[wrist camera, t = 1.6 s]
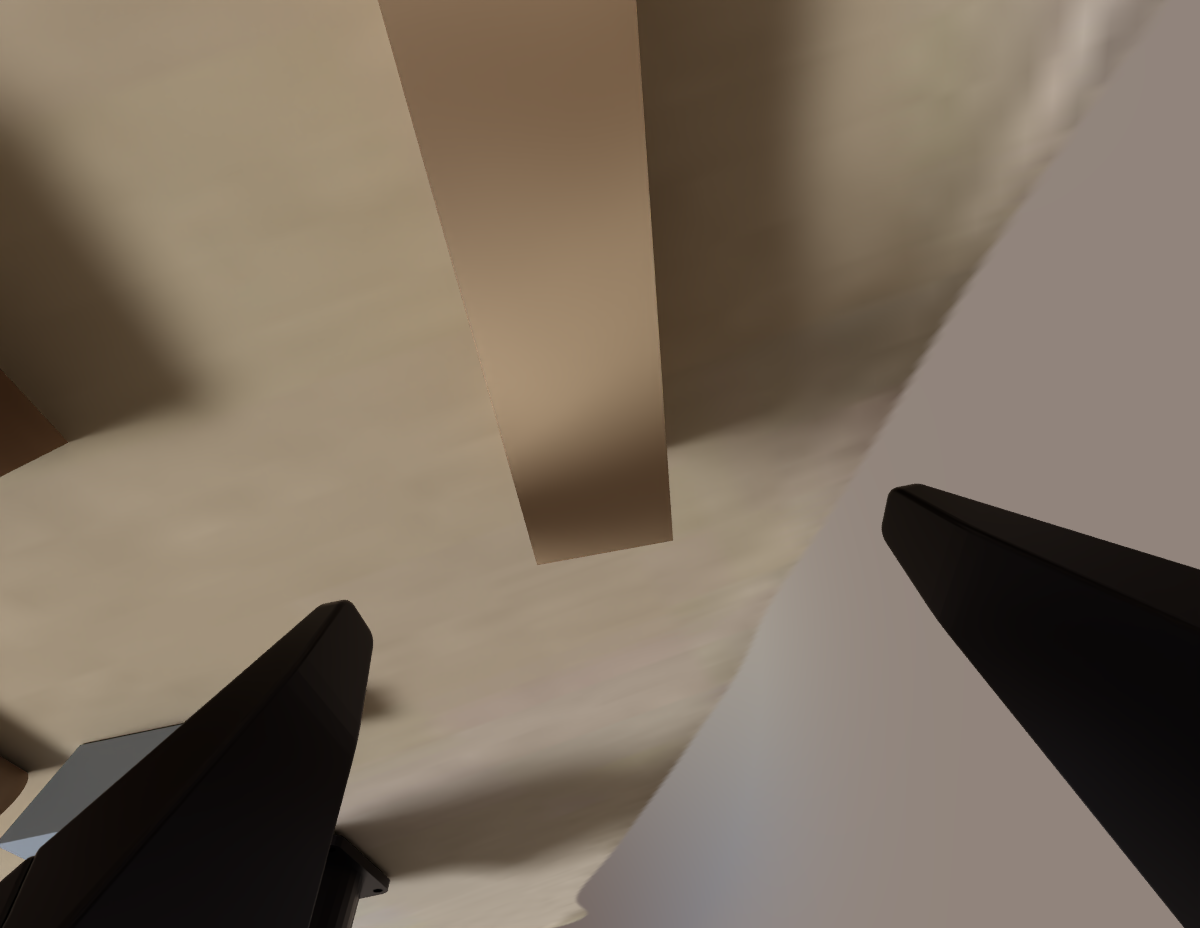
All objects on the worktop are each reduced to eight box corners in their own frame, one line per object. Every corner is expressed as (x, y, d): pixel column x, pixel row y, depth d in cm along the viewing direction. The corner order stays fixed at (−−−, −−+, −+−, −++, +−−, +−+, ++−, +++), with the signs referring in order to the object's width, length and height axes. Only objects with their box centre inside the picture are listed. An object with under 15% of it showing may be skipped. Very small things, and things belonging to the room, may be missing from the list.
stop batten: (319, 730, 18) (281, 819, 15) (118, 771, 18) (45, 869, 15) (293, 701, 17) (248, 792, 14) (80, 745, 17) (-5, 844, 14)
